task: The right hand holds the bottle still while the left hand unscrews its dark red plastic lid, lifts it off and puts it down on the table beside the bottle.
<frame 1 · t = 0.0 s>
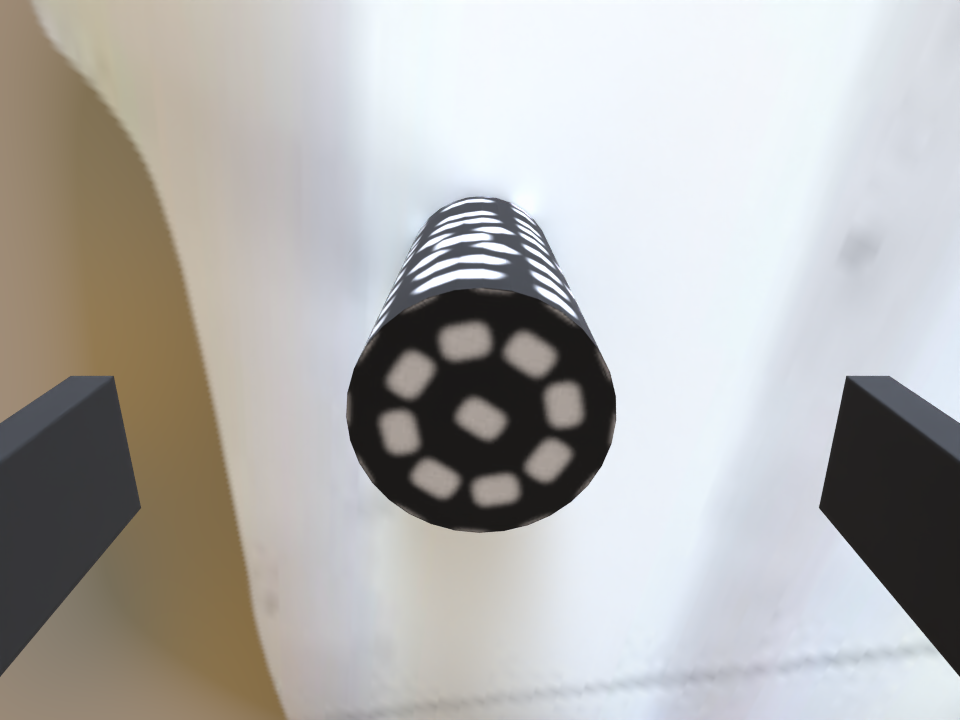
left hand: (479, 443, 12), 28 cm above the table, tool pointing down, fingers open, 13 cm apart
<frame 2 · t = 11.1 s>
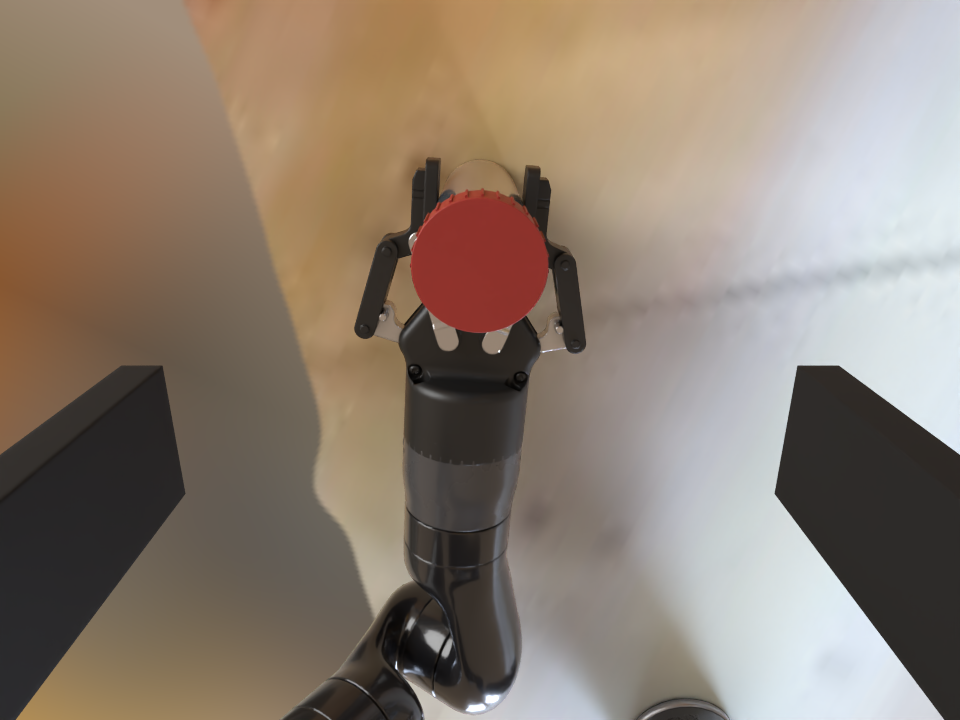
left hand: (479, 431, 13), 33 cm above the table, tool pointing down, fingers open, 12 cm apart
right hand: (482, 164, 37), fingers closed on bottle, 5 cm apart
lid: (479, 265, 26), point 19 cm above the table, screwed on, not yet turned
bottle: (479, 197, 44), on the table, touching right hand
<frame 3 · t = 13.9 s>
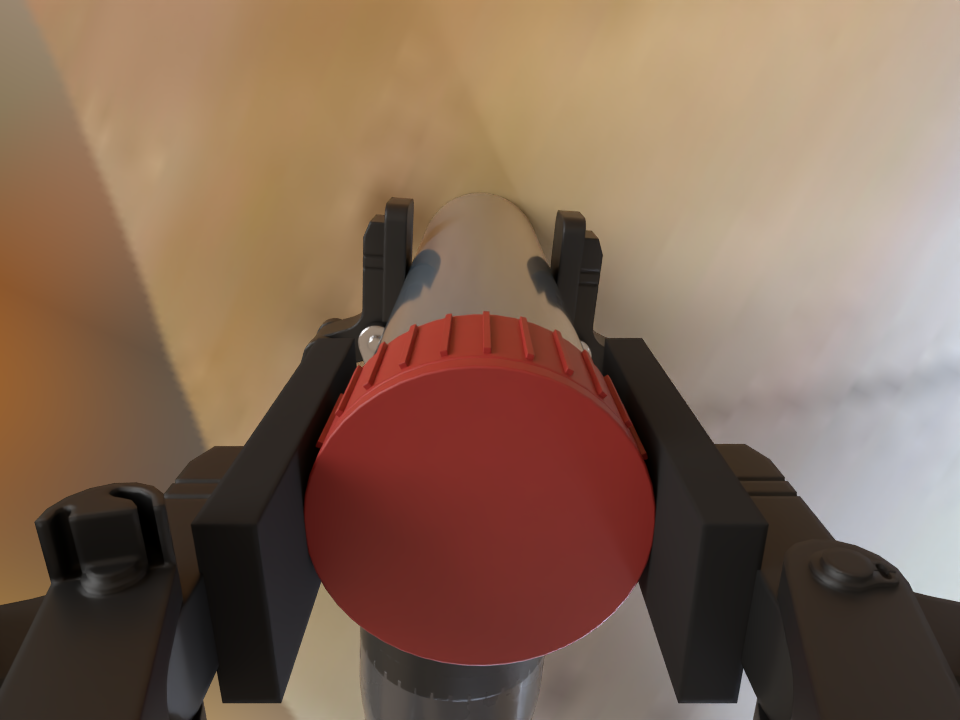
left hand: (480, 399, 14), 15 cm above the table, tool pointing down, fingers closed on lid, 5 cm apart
lid: (479, 516, 10), point 19 cm above the table, screwed on, not yet turned, touching left hand
bottle: (479, 251, 28), on the table, touching right hand
when the left hand's fingers open (15 cm above the table, at t = 15.4 s): lid stays where it is, point 20 cm above the table.
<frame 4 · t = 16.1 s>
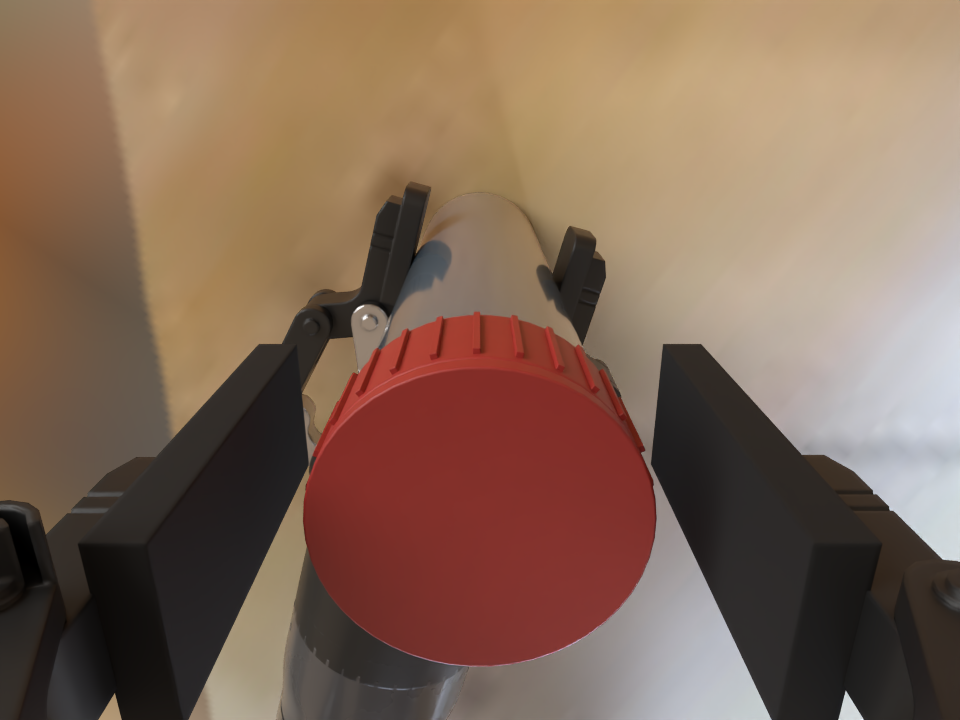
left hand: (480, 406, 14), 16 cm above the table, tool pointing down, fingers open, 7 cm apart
right hand: (500, 212, 22), fingers closed on bottle, 5 cm apart
lid: (479, 517, 10), point 20 cm above the table, turned 81° so far, risen 0.2 cm, still on its thread
bottle: (479, 250, 29), on the table, touching right hand
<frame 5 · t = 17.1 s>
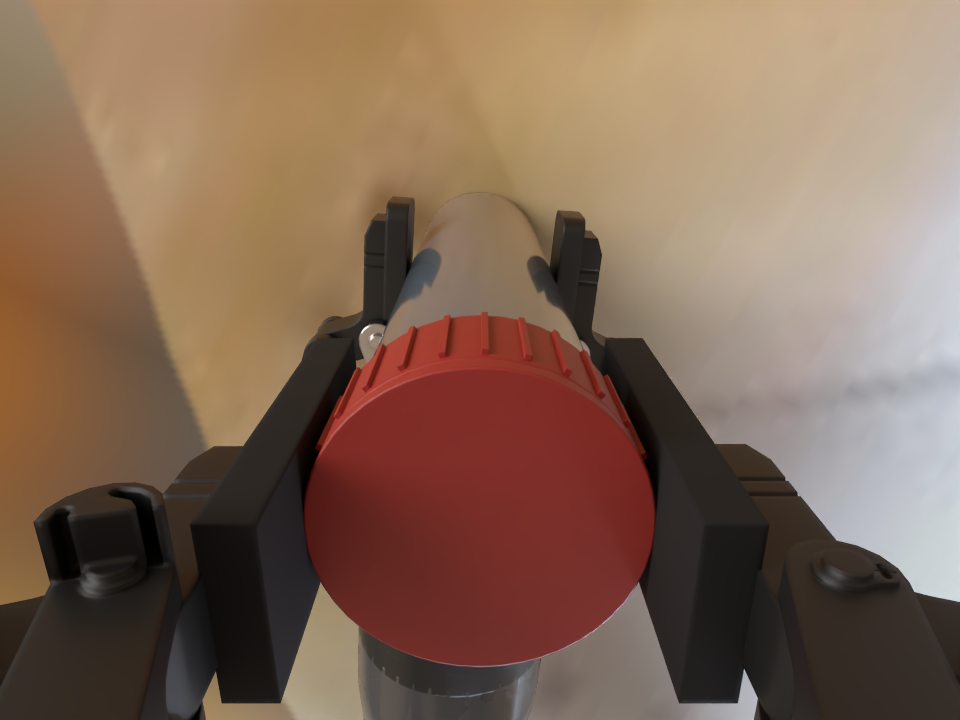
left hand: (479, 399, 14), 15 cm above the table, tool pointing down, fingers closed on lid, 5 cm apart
lid: (479, 517, 10), point 20 cm above the table, turned 81° so far, risen 0.2 cm, still on its thread, touching left hand
bottle: (479, 250, 29), on the table, touching right hand
when the left hand's fingers open (0 cm above the table, at t = 25.8 s): lid drops 2 cm, point 2 cm above the table.
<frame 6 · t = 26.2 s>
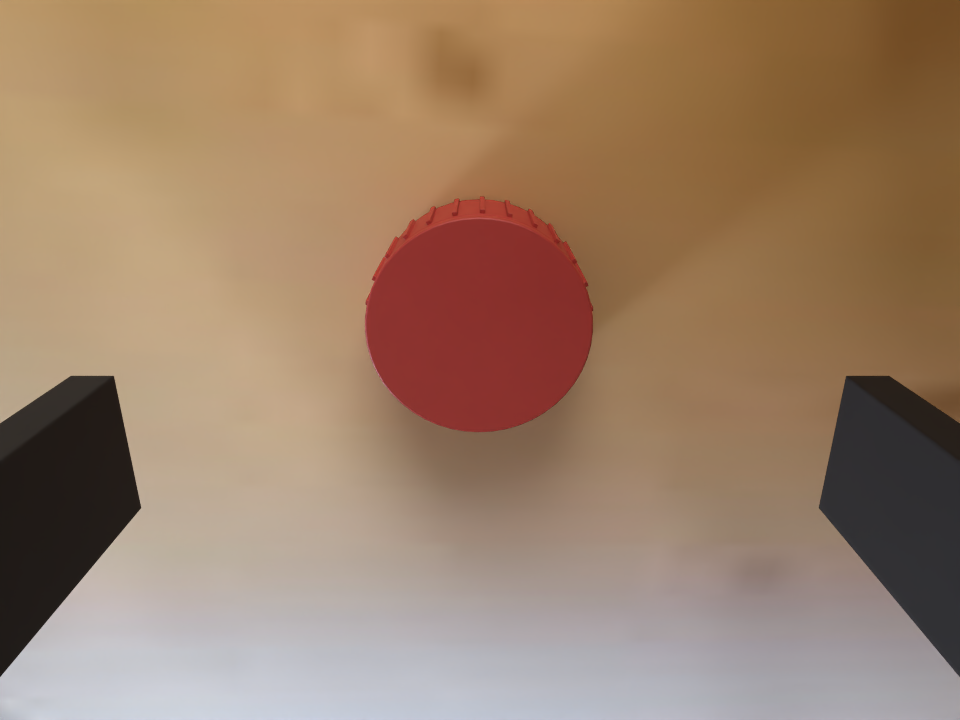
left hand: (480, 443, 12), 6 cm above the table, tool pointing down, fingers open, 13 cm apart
lid: (478, 326, 16), point 2 cm above the table, off its thread
when the right hand's fingers open (6 cm above the table, at t = 26.4 s): bottle stays where it is, on the table.
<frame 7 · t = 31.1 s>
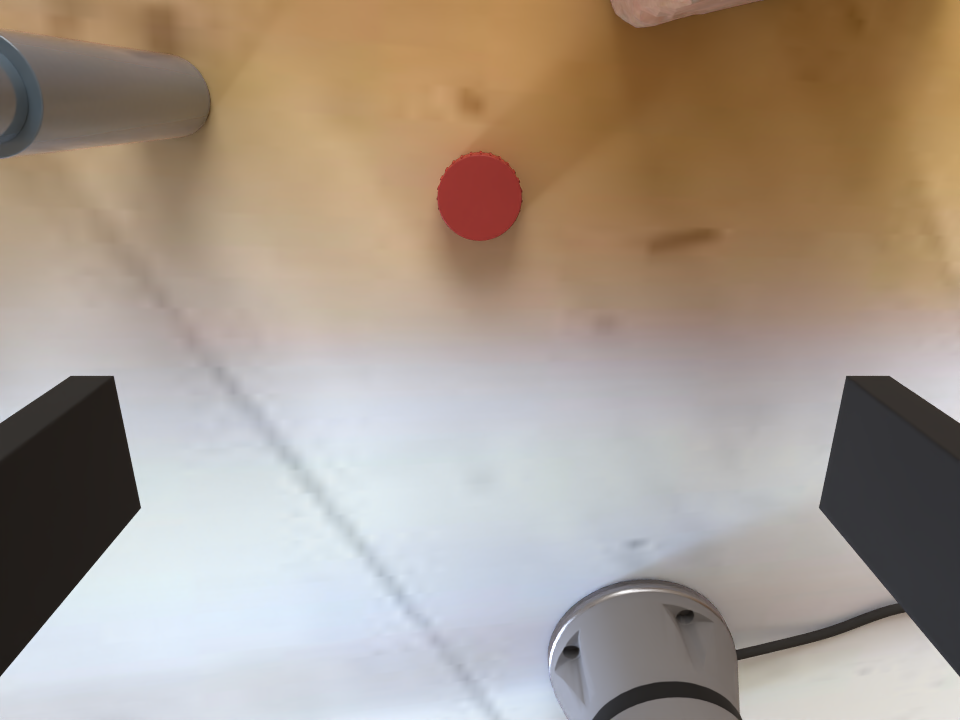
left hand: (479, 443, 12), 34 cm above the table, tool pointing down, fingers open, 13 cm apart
lid: (479, 198, 42), point 2 cm above the table, off its thread
bottle: (171, 96, 42), on the table
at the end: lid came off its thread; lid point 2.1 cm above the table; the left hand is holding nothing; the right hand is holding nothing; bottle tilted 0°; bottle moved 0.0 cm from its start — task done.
